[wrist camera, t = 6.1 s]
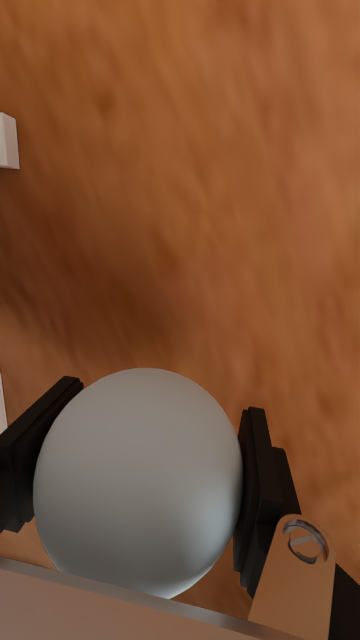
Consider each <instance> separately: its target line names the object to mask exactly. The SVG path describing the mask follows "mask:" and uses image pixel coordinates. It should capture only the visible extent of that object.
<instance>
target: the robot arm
mask: <svg viewBox="0 0 360 640" xmlns="http://www.w3.org/2000/svg"><path fill="white" fill-rule="evenodd" d="M83 389H84V386H83V383H82V382H80V379H79V378H75V377H69V376H64V377H62V378H61V379H60V380H59V381H58V382H57V383H56V384H55V385H54V386H53V387H51V388H50V389H49V390H48V391H47V392H46V393H45V394H44V395H43V396H42V397H41V398H39V399H38V400H37V401H36V402H35V403H34V404H33V405H32V406H31V407H30V408H28V409H27V410H26V411H25V412H24V413H23V414H22V415H21V416H20V417H19V418H18V419H16V420H15V421H14V422H13V423H12V424H11V425H10V426H9V427H8V428H7V429H5V430H4V431H3V432H2V433H1V434H0V533H1V532H2V531H3V530H8V531H12V532H16V533H18V532H19V531H20V529H21V528H22V526H23V525H24V523H25V522H30V521H31V520H32V518H33V517H34V515H35V514H34V508H33V481H34V475H35V469H36V464H37V459H38V456H39V454H40V451H41V448H42V445H43V442H44V439H45V437H46V436H47V434H48V432H49V430H50V428H51V426H52V424H53V423H54V421H55V419H56V418H57V417H58V415H59V414H60V413H61V411H62V410H63V409H64V408H65V406H66V405H67V404H68V403H69V402H70V401H71V400H72V399H73V398H74V397H75V396H76V395H77V394H79V393H80V392H81V391H82V390H83ZM238 441H239V444H240V449H241V453H242V459H243V465H244V486H243V498H242V505H241V511H240V515H239V518H238V521H237V524H236V527H235V530H234V533H233V558H234V571H237V572H240V582H241V586H242V587H246V588H247V592H248V594H249V595H250V596H251V598H252V599H253V603H252V606H251V609H250V612H249V616H248V619H247V620H244V619H240V618H237V617H233V616H230V615H226V614H222V613H219V612H215V611H212V610H208V609H204V608H200V607H197V606H193V605H189V604H185V603H181V602H177V601H173V600H169V599H166V598H162V597H158V596H154V595H150V594H146V593H142V592H139V591H135V590H131V589H127V588H123V587H119V586H115V585H111V584H107V583H103V582H99V581H95V580H91V579H87V578H84V577H80V576H76V575H72V574H68V573H64V572H60V571H56V570H52V569H48V568H44V567H40V566H36V565H32V564H28V563H24V562H20V561H16V560H12V559H7V558H3V557H0V640H360V585H359V584H357V583H356V582H355V581H354V580H353V579H352V578H351V577H350V576H349V575H348V574H347V573H346V572H345V571H344V570H343V569H342V568H341V567H340V566H338V565H337V564H336V554H335V548H334V545H333V543H332V540H331V539H330V537H329V536H328V534H327V533H326V532H325V531H324V530H323V529H322V528H321V527H320V526H319V525H318V524H317V523H316V522H314V521H313V520H311V519H310V518H307V517H305V516H302V514H301V510H300V506H299V503H298V499H297V495H296V491H295V487H294V484H293V480H292V476H291V472H290V468H289V464H288V461H287V457H286V453H285V451H284V449H282V448H276V447H272V444H271V440H270V435H269V430H268V425H267V420H266V416H265V411H264V409H261V408H255V407H249V408H248V410H244V409H243V412H242V417H241V422H240V427H239V432H238Z"/></svg>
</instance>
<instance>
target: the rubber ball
mask: <svg viewBox="0 0 360 640" xmlns="http://www.w3.org/2000/svg"><path fill="white" fill-rule="evenodd" d="M243 486H244V465H243V459H242V453H241V449H240V444H239V441H238V438H237V436H236V433H235V430H234V428H233V425H232V424H231V422H230V420H229V418H228V416H227V415H226V413H225V412H224V410H223V409H222V407H221V406H220V405H219V403H218V402H217V401H216V400H215V399H214V398H213V397H212V396H211V395H210V394H209V393H208V392H207V391H206V390H205V389H203V388H202V387H201V386H200V385H199V384H197V383H195V382H194V381H192V380H191V379H189V378H187V377H185V376H183V375H180V374H178V373H175V372H172V371H168V370H164V369H158V368H133V369H127V370H122V371H119V372H115V373H113V374H110V375H107V376H105V377H103V378H101V379H99V380H97V381H96V382H94V383H92V384H91V385H89V386H88V387H86V388H85V389H83V390H82V391H81V392H80V393H79V394H77V395H76V396H75V397H74V398H73V399H72V400H71V401H70V402H69V403H68V404H67V405H66V406H65V408H64V409H63V410H62V411H61V413H60V414H59V415H58V417H57V418H56V419H55V421H54V423H53V424H52V426H51V428H50V430H49V432H48V434H47V436H46V437H45V439H44V442H43V445H42V448H41V451H40V454H39V456H38V459H37V464H36V469H35V475H34V481H33V508H34V514H35V520H36V526H37V529H38V532H39V535H40V538H41V541H42V544H43V546H44V548H45V550H46V553H47V554H48V556H49V558H50V559H51V561H52V562H53V564H54V565H55V567H56V568H57V570H58V571H60V572H64V573H68V574H72V575H76V576H80V577H84V578H87V579H91V580H95V581H99V582H103V583H107V584H111V585H115V586H119V587H123V588H127V589H131V590H135V591H139V592H142V593H146V594H150V595H154V596H158V597H162V598H166V599H170V598H172V597H174V596H176V595H178V594H180V593H182V592H184V591H185V590H187V589H188V588H190V587H191V586H193V585H194V584H195V583H196V582H197V581H198V580H200V579H201V578H202V577H203V576H204V575H205V574H206V573H207V572H208V571H209V570H210V569H211V568H212V566H213V565H214V564H215V563H216V561H217V560H218V559H219V557H220V556H221V555H222V554H223V552H224V550H225V548H226V546H227V544H228V542H229V540H230V539H231V537H232V535H233V533H234V530H235V527H236V524H237V521H238V518H239V515H240V511H241V505H242V498H243Z"/></svg>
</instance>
